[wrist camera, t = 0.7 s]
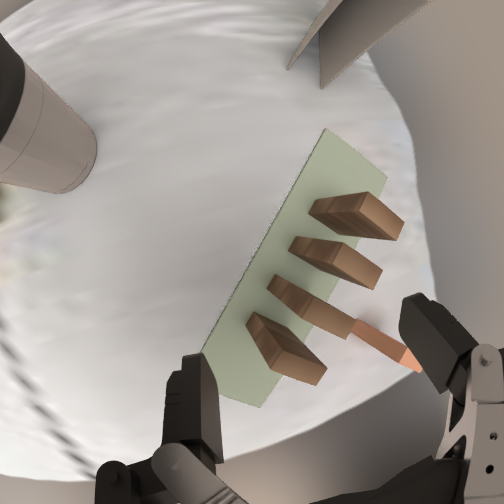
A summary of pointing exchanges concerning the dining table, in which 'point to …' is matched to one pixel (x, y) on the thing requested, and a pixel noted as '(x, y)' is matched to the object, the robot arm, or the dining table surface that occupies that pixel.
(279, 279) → the tile
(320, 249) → the tile
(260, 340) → the tile
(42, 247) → the dining table surface
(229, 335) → the mat
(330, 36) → the brochure
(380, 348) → the tile
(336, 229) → the tile
